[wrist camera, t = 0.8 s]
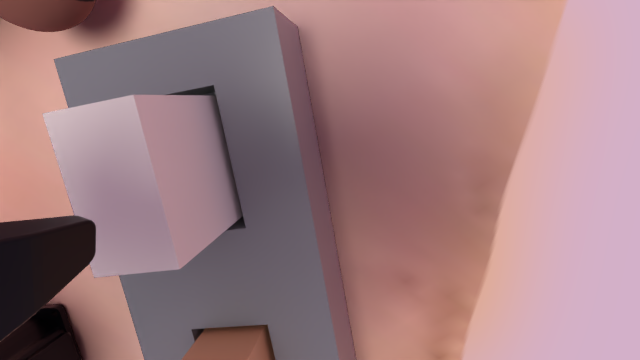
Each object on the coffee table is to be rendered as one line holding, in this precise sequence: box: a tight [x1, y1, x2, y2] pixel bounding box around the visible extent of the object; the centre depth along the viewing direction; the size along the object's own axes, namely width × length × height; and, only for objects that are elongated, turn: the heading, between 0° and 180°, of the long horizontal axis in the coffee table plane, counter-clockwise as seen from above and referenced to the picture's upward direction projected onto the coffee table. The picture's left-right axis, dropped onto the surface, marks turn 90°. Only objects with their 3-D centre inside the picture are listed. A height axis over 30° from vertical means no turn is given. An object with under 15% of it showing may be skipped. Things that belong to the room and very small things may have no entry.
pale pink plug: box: [43, 95, 243, 278], centre depth 17 cm, size 4×6×8 cm, turn 10°
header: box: [54, 6, 356, 360], centre depth 21 cm, size 11×24×4 cm, turn 10°
